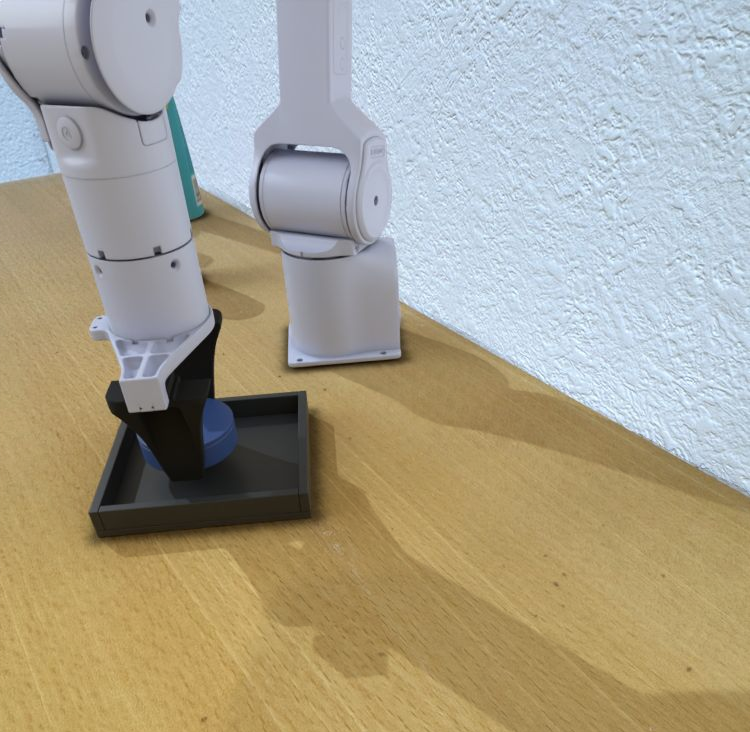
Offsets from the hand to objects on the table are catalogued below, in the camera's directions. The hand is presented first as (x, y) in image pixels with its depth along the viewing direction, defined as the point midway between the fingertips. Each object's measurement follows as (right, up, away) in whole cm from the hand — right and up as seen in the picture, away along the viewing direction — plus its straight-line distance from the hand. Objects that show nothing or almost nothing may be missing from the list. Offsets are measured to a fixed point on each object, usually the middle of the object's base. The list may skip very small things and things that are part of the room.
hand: (193, 446), depth 46 cm
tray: (+1, -1, +1) cm, 2 cm away
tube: (-13, +34, +45) cm, 58 cm away
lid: (0, +1, -1) cm, 2 cm away
